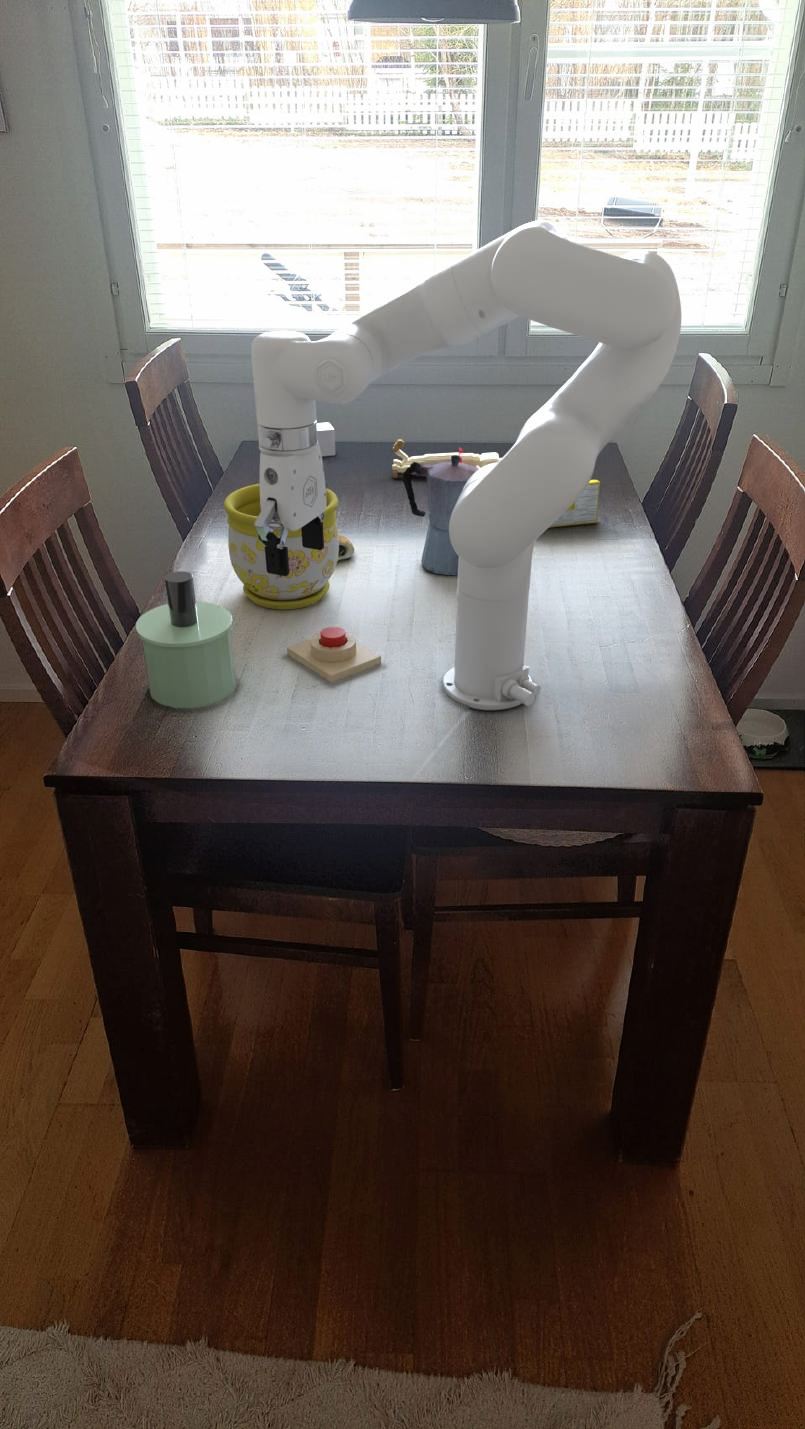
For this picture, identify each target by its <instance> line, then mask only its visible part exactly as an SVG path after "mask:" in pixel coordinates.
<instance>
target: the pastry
mask: <svg viewBox="0 0 805 1429" xmlns="http://www.w3.org/2000/svg"><path fill="white" fill-rule="evenodd" d="M338 539H339V555H338V561H341V560H348V559H350V558H351V557H352V556H353V555H354V554H355V548H354V545H353V543H352V542H351V541H350V540H349V538H347V537H346V535H343V534H338ZM338 561H337V562H338Z"/></svg>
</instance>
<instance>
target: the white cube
mask: <svg viewBox="0 0 805 1429" xmlns="http://www.w3.org/2000/svg"><path fill="white" fill-rule="evenodd" d="M335 431H336V430H335V428H334V427H333V426H332V424H331V423H330V422H317V440H318V443H319V447H320V451H321V456H322V457H331V456H336V432H335Z"/></svg>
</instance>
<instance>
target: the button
mask: <svg viewBox="0 0 805 1429" xmlns="http://www.w3.org/2000/svg"><path fill="white" fill-rule="evenodd" d="M345 632H346V630H345V629H343V628H342V627H338V626H329V627H325V628H323V629H322V630H320V632H319V633H320V636H321V645H322V646H324V647H330V648H333V647H340V646H343V645H345V643H346V637H345Z"/></svg>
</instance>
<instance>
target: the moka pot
mask: <svg viewBox="0 0 805 1429" xmlns="http://www.w3.org/2000/svg"><path fill="white" fill-rule="evenodd" d="M459 460H460V456H458V455H452V456H451V462H452V463H438V464H436V465H433V466H431V465H428V464H423V465H422V464H419V463H417V462H413V464H411V465H410V467H408V468H407V469H406V471H405V472H404V473H402V482H403V485H404V488H405V491H406V495H407V499H408V502H409V506H410V509H411V510H410V511H411V513H412V515H414V516H417V517H422V518H423V517H425V516H426V514H427V513H426V511H424V510H420V509H418V505H417V503H416V497H415V492H414V489H413V484H412V480H411V475H413V474H412V473H414V472H415V473H414V474H417V475H418V476H420V477H425V478H426V485H427V504H428V505H427V506H428V511H429V513H428V518H429V523H428V528H427V532H426V536H425V541H424V546H423V549H422V550H423V551H422V555H421V559H420V560H421V566H422V567H423V568H424V569H425V570H427V571H428V572H431V573H434V574H438V575H446V576H458V562H459V556H458V555H457V553H456V552H455V550H454V548H453V546H452V544H451V541H450V536H449V522H450V518H451V514H452V512H453V509H454V507H455V505H456V503H457V501H458V498H459V496H460V494H461V492H462V490H463V488H464V486H465V484H466V482H467V481H468V480H469V478H470V477H471V476H472V475H473V474H474V473H475V472H476V471H477V470H479V468H477V467H474V466H471V465H467V464H464V463H459Z"/></svg>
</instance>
